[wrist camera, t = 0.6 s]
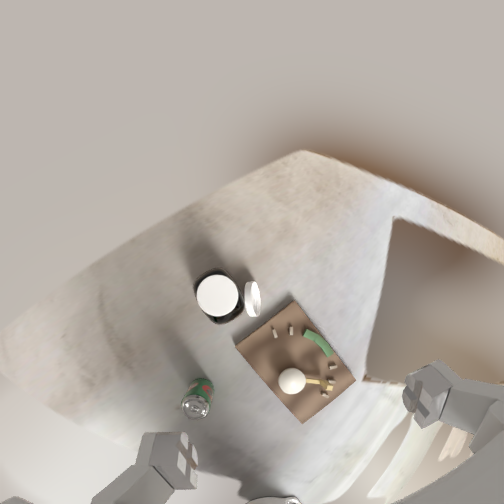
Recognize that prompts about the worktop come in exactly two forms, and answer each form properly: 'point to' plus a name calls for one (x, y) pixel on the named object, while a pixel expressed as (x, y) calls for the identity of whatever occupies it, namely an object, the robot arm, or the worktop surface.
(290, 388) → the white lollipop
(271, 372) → the gauge board
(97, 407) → the worktop surface
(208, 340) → the worktop surface
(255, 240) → the worktop surface
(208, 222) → the worktop surface
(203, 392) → the soda can
